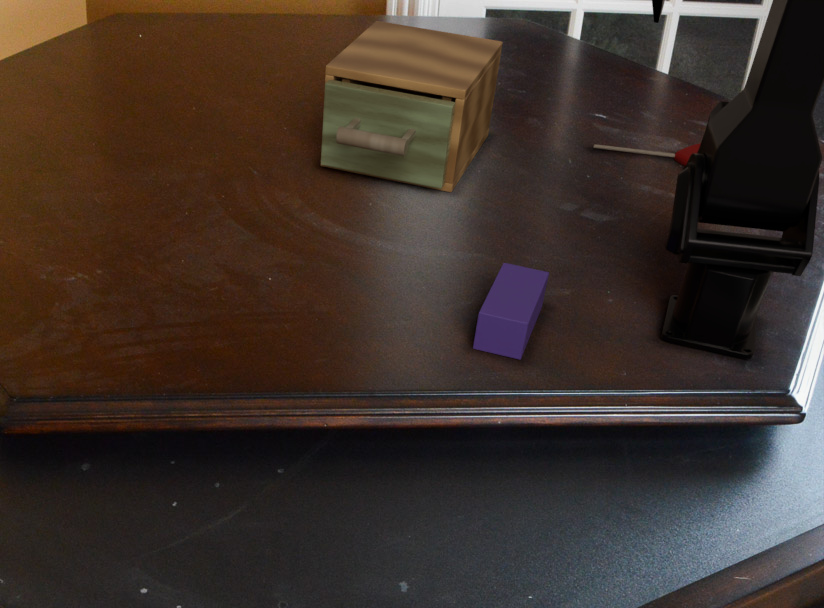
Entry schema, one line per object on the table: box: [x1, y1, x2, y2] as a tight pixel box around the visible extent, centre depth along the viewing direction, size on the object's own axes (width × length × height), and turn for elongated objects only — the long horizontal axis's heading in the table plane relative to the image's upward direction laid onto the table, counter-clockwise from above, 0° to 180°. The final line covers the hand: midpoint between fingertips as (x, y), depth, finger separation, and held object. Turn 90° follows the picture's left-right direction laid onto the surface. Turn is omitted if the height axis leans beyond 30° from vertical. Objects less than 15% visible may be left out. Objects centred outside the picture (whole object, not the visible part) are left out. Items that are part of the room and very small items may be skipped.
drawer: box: [320, 78, 456, 189], centre depth 95 cm, size 18×11×7 cm, turn 160°
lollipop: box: [593, 142, 701, 167], centre depth 103 cm, size 8×1×15 cm
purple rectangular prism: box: [472, 262, 550, 361], centre depth 77 cm, size 4×8×3 cm, turn 160°
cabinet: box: [320, 20, 504, 193], centre depth 98 cm, size 15×13×9 cm
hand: (711, 30), depth 89 cm, fingers open, 9 cm apart
